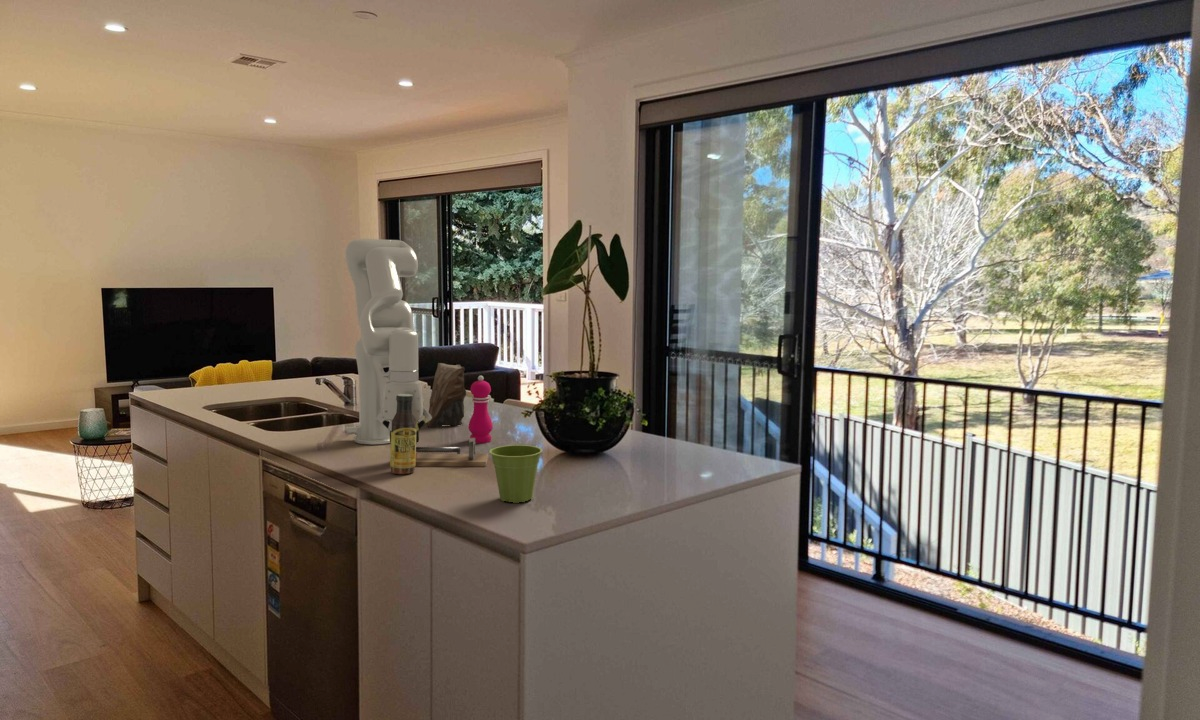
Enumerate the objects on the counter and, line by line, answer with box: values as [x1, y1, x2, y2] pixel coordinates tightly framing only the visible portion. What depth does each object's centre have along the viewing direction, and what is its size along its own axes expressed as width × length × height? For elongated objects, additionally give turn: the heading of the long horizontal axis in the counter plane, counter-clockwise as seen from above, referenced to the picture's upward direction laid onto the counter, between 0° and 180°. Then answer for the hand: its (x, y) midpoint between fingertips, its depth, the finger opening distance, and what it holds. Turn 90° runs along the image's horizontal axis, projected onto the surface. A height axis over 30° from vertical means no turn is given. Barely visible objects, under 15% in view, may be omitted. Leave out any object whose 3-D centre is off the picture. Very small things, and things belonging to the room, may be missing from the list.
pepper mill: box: [468, 375, 493, 444], centre depth 236 cm, size 7×7×20 cm
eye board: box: [415, 438, 489, 467], centre depth 210 cm, size 22×9×6 cm, turn 94°
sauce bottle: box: [389, 394, 417, 476], centre depth 197 cm, size 7×6×20 cm
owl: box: [427, 362, 467, 427], centre depth 263 cm, size 13×13×20 cm
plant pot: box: [488, 444, 543, 504], centre depth 176 cm, size 12×12×11 cm
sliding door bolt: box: [416, 446, 461, 458], centre depth 209 cm, size 18×6×11 cm, turn 94°
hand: (404, 444), depth 209 cm, fingers closed on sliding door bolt, 4 cm apart
